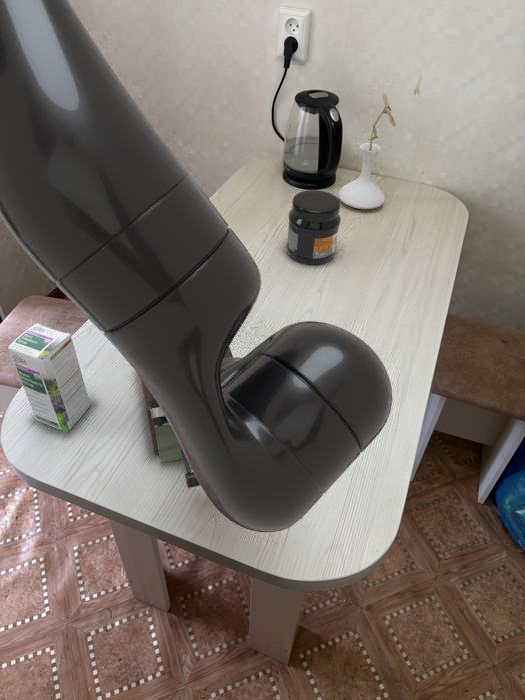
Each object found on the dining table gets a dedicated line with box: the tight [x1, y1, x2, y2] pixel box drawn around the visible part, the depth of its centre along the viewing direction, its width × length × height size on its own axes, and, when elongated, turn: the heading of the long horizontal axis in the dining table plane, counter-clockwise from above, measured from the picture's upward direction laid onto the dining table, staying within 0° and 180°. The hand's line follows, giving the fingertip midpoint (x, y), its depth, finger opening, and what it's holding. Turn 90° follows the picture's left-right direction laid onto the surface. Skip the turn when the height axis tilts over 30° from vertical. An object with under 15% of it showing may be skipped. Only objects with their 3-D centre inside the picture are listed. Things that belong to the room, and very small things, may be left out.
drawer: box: [154, 422, 201, 489], centre depth 69 cm, size 22×12×8 cm, turn 17°
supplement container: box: [286, 189, 342, 265], centre depth 104 cm, size 10×10×12 cm
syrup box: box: [7, 322, 91, 433], centre depth 69 cm, size 6×6×14 cm
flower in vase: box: [338, 90, 397, 210], centre depth 118 cm, size 13×11×25 cm
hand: (203, 396), depth 58 cm, fingers closed
